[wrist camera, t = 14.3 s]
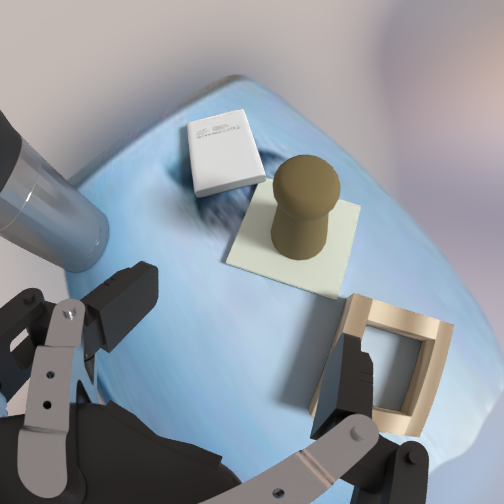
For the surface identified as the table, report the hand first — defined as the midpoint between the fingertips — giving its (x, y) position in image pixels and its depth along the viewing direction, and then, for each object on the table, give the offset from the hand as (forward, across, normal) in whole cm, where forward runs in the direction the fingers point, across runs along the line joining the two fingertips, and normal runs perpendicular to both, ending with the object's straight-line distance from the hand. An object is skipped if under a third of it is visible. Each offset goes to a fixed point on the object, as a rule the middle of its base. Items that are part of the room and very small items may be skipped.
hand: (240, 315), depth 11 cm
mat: (+20, 0, +4) cm, 20 cm away
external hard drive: (+25, +12, -1) cm, 28 cm away
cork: (+20, 0, +4) cm, 20 cm away
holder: (+12, -13, +12) cm, 22 cm away
